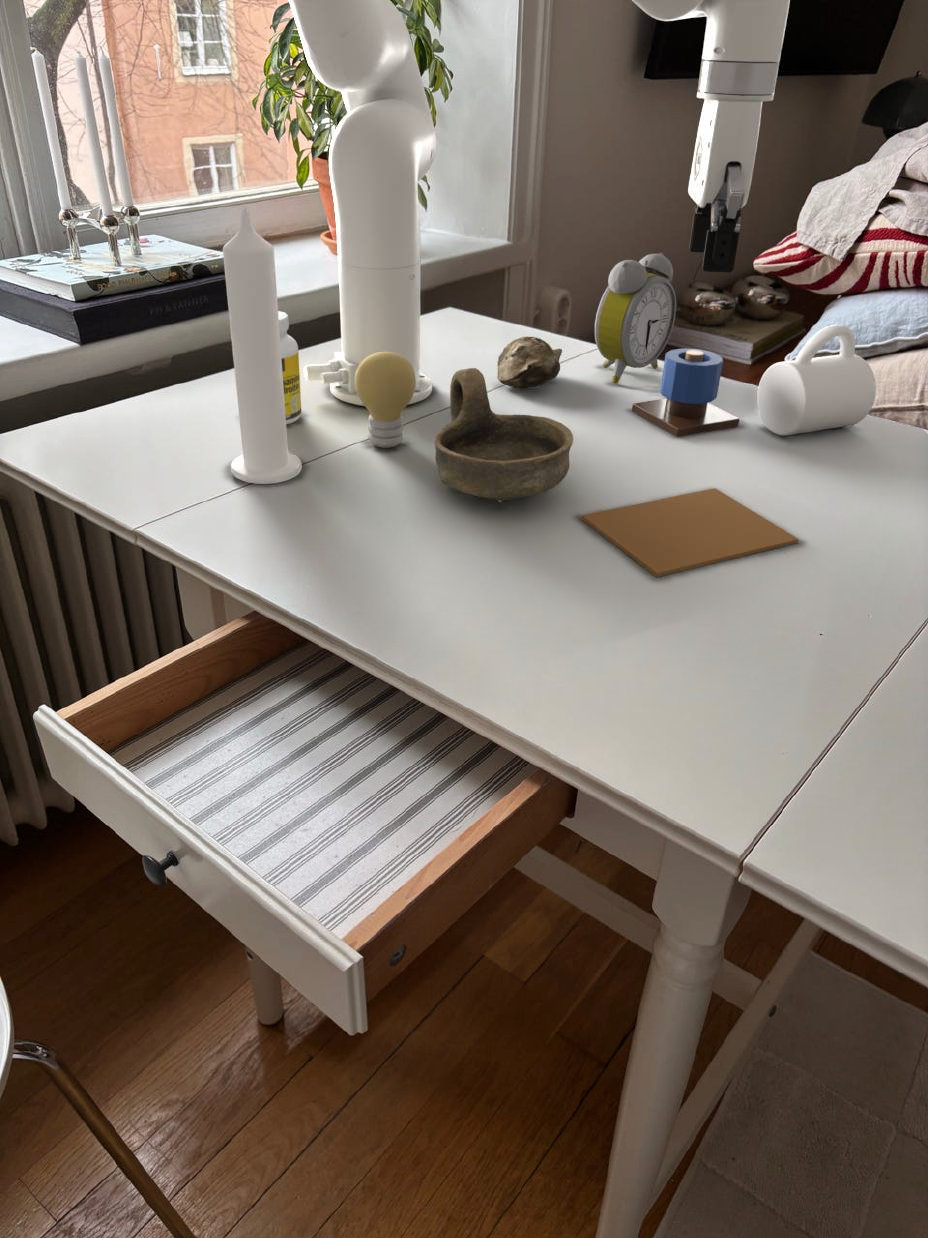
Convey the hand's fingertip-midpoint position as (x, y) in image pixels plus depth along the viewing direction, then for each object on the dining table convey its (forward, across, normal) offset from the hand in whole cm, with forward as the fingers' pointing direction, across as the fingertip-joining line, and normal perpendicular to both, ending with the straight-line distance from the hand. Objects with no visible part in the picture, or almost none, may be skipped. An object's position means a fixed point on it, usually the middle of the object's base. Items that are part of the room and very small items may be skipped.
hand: (709, 261), depth 105 cm
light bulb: (+18, +13, -34) cm, 41 cm away
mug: (+18, +1, +14) cm, 23 cm away
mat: (+18, +30, -4) cm, 35 cm away
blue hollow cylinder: (+15, 0, 0) cm, 15 cm away
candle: (+18, +22, -46) cm, 53 cm away
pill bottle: (+18, +7, -48) cm, 52 cm away
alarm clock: (+18, -16, -6) cm, 25 cm away
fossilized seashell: (+18, -10, -19) cm, 28 cm away
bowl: (+18, +22, -22) cm, 36 cm away
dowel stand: (+18, 0, 0) cm, 18 cm away
